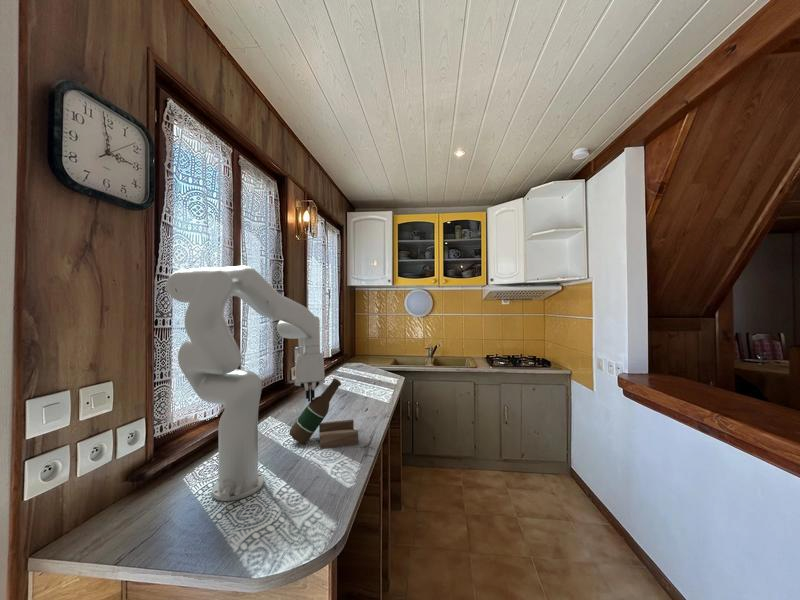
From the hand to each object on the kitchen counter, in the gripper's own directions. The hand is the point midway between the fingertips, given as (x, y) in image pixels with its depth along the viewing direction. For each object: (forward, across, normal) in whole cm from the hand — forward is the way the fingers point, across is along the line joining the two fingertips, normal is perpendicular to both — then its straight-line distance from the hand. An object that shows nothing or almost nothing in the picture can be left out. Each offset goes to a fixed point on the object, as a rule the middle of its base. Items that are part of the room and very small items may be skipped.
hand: (310, 400), depth 116 cm
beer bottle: (+13, -5, -1) cm, 14 cm away
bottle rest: (+15, +10, -1) cm, 18 cm away
